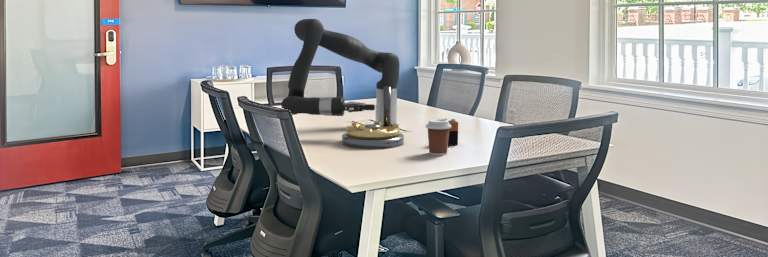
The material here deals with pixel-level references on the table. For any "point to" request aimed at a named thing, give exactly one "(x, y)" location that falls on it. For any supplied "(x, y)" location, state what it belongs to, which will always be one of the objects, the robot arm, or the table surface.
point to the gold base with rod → (376, 124)
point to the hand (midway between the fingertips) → (374, 107)
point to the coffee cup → (438, 136)
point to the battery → (453, 132)
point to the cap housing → (373, 142)
